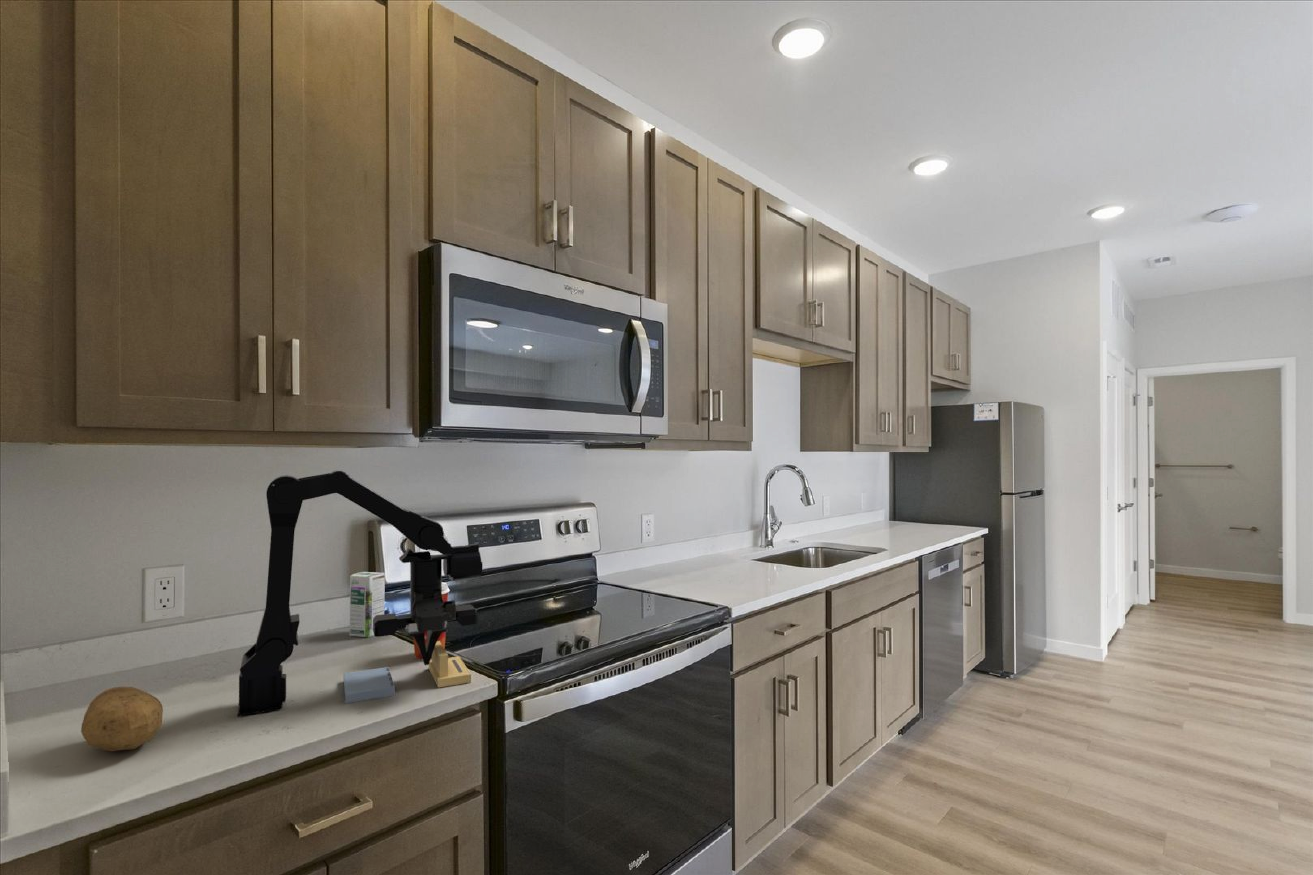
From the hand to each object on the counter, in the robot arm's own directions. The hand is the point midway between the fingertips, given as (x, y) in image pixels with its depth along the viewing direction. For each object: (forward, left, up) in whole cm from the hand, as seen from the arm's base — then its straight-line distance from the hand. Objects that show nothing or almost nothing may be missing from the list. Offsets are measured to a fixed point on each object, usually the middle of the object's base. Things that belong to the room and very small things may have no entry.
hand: (426, 664), depth 126 cm
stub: (+4, 0, -3) cm, 5 cm away
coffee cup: (+3, +15, -3) cm, 16 cm away
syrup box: (-8, +39, -3) cm, 40 cm away
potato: (-44, -9, -3) cm, 45 cm away
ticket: (-10, 0, -3) cm, 11 cm away
